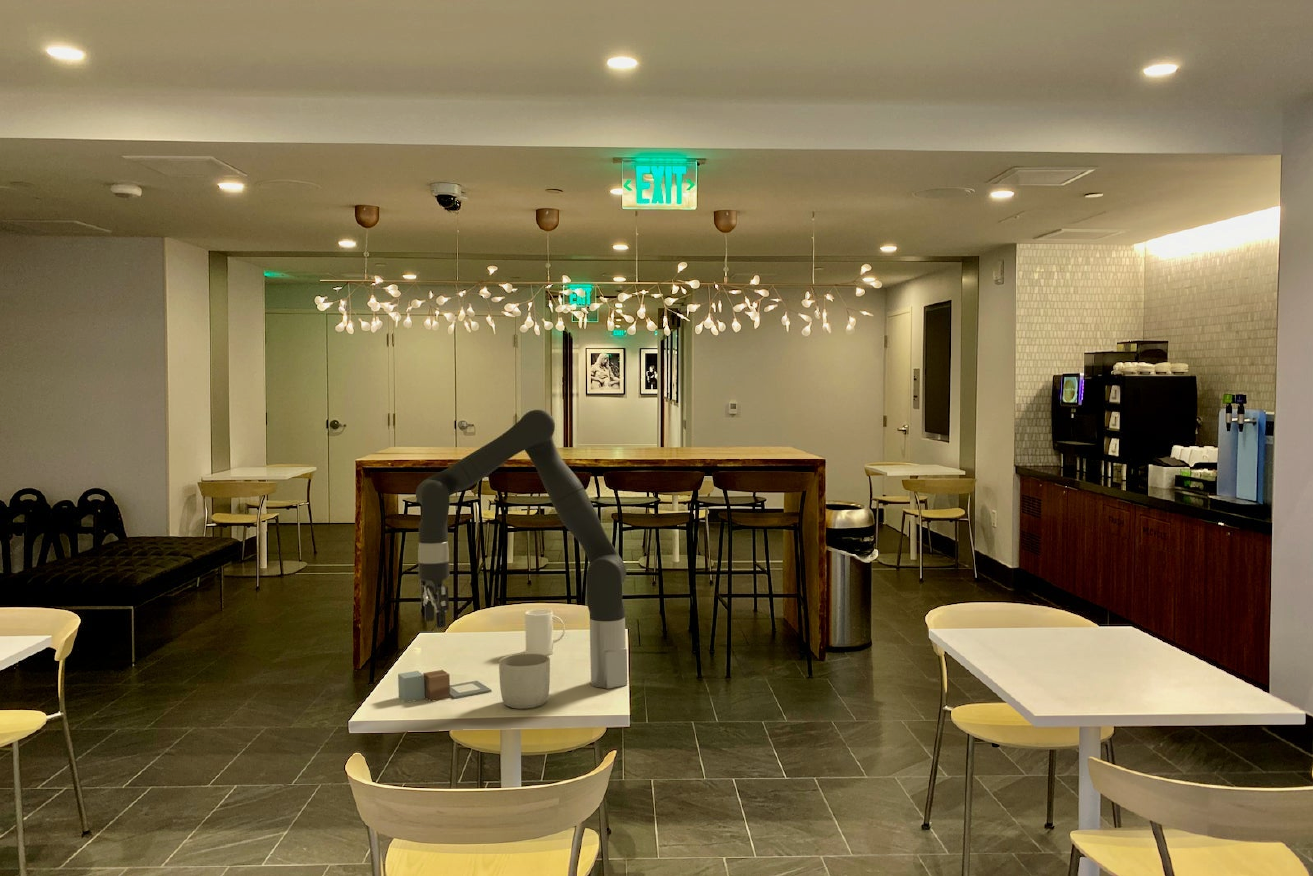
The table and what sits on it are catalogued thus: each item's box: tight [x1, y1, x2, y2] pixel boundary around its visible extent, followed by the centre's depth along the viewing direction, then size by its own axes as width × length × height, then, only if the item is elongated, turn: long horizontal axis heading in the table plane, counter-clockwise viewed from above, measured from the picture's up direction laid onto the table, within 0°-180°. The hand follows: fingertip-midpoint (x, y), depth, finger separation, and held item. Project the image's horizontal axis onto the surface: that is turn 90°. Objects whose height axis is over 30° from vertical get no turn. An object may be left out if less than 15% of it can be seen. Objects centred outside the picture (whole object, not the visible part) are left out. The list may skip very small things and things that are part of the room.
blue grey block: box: [397, 670, 426, 703], centre depth 238 cm, size 5×5×6 cm
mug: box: [524, 608, 566, 656], centre depth 279 cm, size 12×8×12 cm
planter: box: [498, 652, 551, 710], centre depth 231 cm, size 12×12×11 cm
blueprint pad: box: [450, 680, 493, 699], centre depth 243 cm, size 10×10×1 cm
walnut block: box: [422, 669, 451, 702], centre depth 238 cm, size 5×5×6 cm
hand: (435, 624), depth 238 cm, fingers open, 8 cm apart
